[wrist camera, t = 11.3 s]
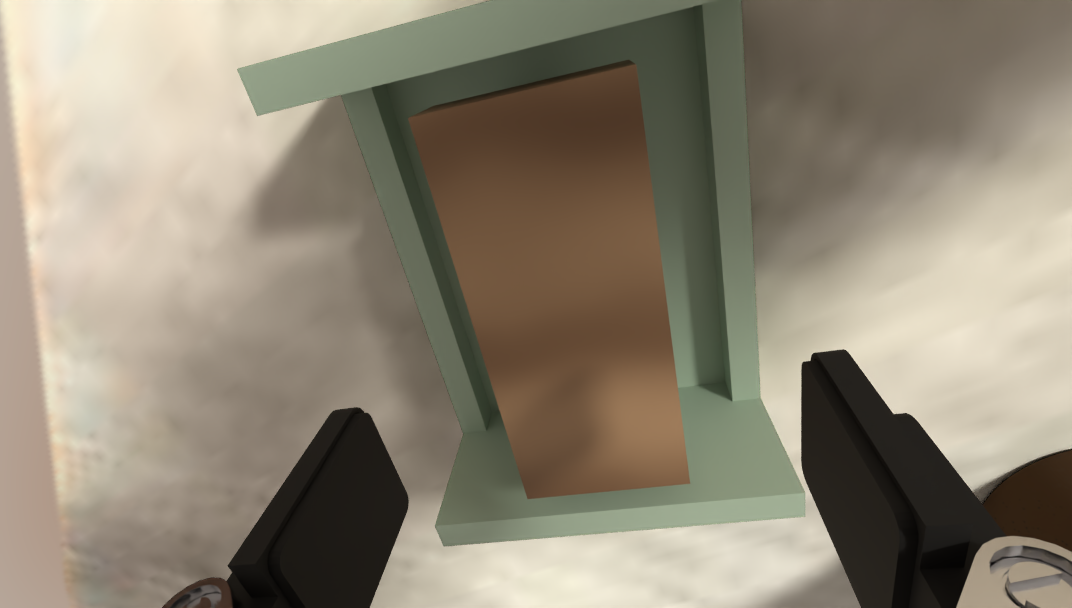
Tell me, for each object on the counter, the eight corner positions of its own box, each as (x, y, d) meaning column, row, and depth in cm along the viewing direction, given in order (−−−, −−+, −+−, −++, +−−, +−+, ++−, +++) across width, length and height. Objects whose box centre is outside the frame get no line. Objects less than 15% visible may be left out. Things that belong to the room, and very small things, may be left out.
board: (433, 105, 16) (407, 117, 14) (629, 59, 15) (636, 64, 13) (533, 450, 22) (527, 499, 20) (679, 434, 21) (690, 483, 19)
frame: (355, 56, 21) (236, 68, 14) (720, -41, 19) (803, -85, 11) (479, 420, 29) (443, 546, 22) (746, 386, 26) (805, 516, 19)
